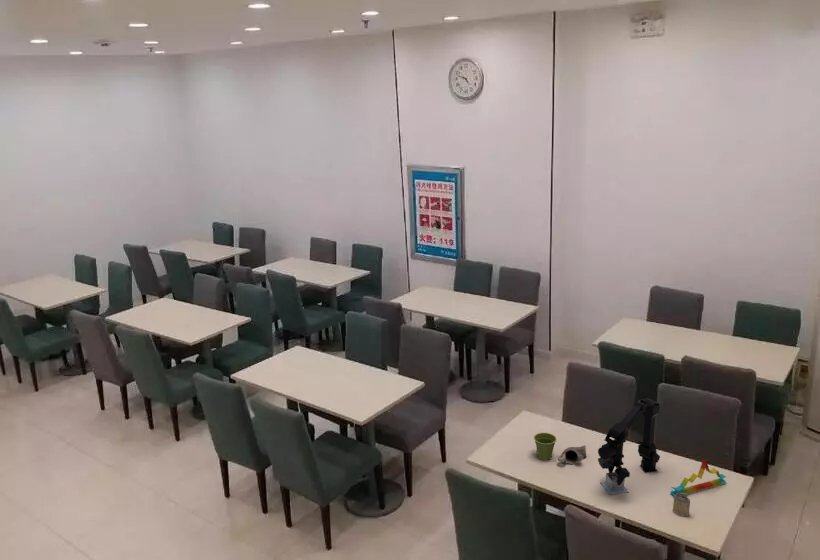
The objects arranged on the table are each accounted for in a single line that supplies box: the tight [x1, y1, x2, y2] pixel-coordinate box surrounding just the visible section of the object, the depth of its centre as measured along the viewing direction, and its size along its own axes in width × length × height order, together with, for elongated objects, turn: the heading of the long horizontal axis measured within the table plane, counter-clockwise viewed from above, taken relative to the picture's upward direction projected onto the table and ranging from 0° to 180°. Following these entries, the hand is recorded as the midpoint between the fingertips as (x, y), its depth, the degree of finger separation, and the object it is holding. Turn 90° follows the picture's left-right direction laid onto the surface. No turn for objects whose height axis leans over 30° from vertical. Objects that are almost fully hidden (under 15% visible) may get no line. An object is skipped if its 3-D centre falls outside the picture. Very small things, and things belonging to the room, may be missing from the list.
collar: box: [604, 471, 626, 491], centre depth 317 cm, size 7×7×6 cm
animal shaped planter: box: [557, 445, 587, 465], centre depth 341 cm, size 16×9×15 cm
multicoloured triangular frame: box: [669, 460, 727, 498], centre depth 312 cm, size 30×3×15 cm, turn 109°
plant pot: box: [533, 432, 558, 461], centre depth 345 cm, size 12×12×11 cm
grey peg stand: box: [599, 476, 630, 496], centre depth 317 cm, size 10×10×6 cm
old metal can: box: [672, 492, 691, 517], centre depth 296 cm, size 7×4×10 cm, turn 53°
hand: (614, 479), depth 316 cm, fingers open, 9 cm apart
